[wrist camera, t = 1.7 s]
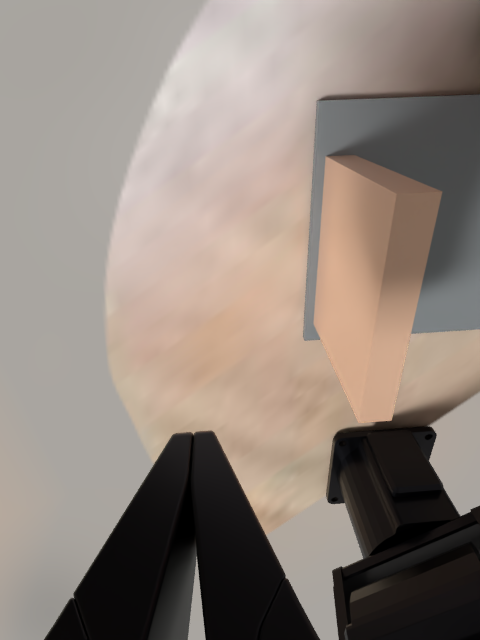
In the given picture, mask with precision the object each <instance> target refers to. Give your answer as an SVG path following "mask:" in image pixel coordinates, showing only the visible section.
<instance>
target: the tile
mask: <svg viewBox="0 0 480 640" xmlns="http://www.w3.org/2000/svg"><path fill="white" fill-rule="evenodd" d="M441 196H442V191H440V190H437V189H435V188H433V187H430V186H428V185H425V184H423V183H421V182H418V181H416V180H413V179H411V178H409V177H406V176H404V175H401V174H399V173H397V172H394V171H392V170H389V169H387V168H385V167H382V166H380V165H377V164H375V163H373V162H370V161H368V160H365V159H363V158H361V157H358V156H356V155H342V156H326V159H325V172H324V186H323V200H322V213H321V227H320V241H319V254H318V268H317V282H316V296H315V309H314V323H313V324H314V326H315V328H316V331H317V333H318V335H319V337H320V339H321V341H322V344H323V346H324V348H325V350H326V352H327V355H328V357H329V359H330V361H331V363H332V366H333V368H334V370H335V372H336V374H337V376H338V379H339V381H340V383H341V385H342V387H343V390H344V392H345V394H346V396H347V398H348V401H349V403H350V405H351V407H352V409H353V411H354V414H355V416H356V418H357V420H358V422H359V423H366V422H379V421H392V416H393V412H394V407H395V403H396V398H397V394H398V389H399V385H400V380H401V376H402V371H403V367H404V362H405V358H406V353H407V349H408V344H409V340H410V335H411V331H412V326H413V322H414V317H415V313H416V308H417V304H418V299H419V295H420V290H421V286H422V281H423V277H424V272H425V268H426V263H427V259H428V254H429V250H430V245H431V241H432V236H433V232H434V227H435V223H436V218H437V214H438V209H439V205H440V200H441Z"/></svg>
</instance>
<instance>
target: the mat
mask: <svg viewBox="0 0 480 640" xmlns="http://www.w3.org/2000/svg"><path fill="white" fill-rule="evenodd" d="M342 155H356V156H358V157H361V158H363V159H365V160H368V161H370V162H373V163H375V164H377V165H380V166H382V167H385V168H387V169H389V170H392V171H394V172H397V173H399V174H401V175H404V176H406V177H409V178H411V179H413V180H416V181H418V182H421V183H423V184H425V185H428V186H430V187H433V188H435V189H437V190H440V191H442V196H441V200H440V205H439V209H438V214H437V218H436V223H435V227H434V232H433V236H432V241H431V245H430V250H429V254H428V259H427V263H426V268H425V272H424V277H423V281H422V286H421V290H420V295H419V299H418V304H417V308H416V313H415V317H414V322H413V326H412V331H411V334H414V333H429V332H445V331H460V330H475V329H480V94H478V95H451V96H425V97H398V98H372V99H345V100H319V101H317V109H316V126H315V143H314V160H313V177H312V194H311V211H310V228H309V245H308V262H307V279H306V296H305V313H304V330H303V338H304V340H305V341H307V340H321V339H320V337H319V335H318V333H317V331H316V328H315V326H314V324H313V323H314V309H315V296H316V282H317V268H318V254H319V241H320V227H321V213H322V200H323V186H324V172H325V159H326V156H342Z"/></svg>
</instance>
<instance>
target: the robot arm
mask: <svg viewBox="0 0 480 640" xmlns="http://www.w3.org/2000/svg"><path fill="white" fill-rule="evenodd" d="M435 439H436V433H435V431H434V430H433V428H432V427H414V428H401V429H388V430H375V431H362V432H349V433H339V434H337V435H335V436H334V438H333V443H332V451H331V459H330V467H329V475H328V483H327V492H326V497H327V500H328V502H329V503H331V504H340V503H345V504H346V508H347V511H348V514H349V517H350V520H351V523H352V526H353V529H354V532H355V534H356V538H357V540H358V544H359V547H360V549H361V553H362V556H363V559H362V560H359V561H357V562H355V563H353V564H350V565H348V566H346V567H339V568H336V569H334V570H333V571H332V573H333V582H334V587H333V589H334V599H335V608H336V618H337V627H338V636H339V640H480V506H478V507H476V508H473V509H471V512H470V513H467V514H465V515H462V516H460V515H459V513H458V511H457V510H456V508H455V506H454V505H453V503H452V501H451V500H450V498H449V496H448V495H447V493H446V491H445V490H444V488H443V484H442V482H441V481H440V479H439V477H438V476H437V474H436V472H435V471H434V469H433V467H432V466H431V464H430V462H429V458H430V455H431V452H432V449H433V446H434V442H435ZM196 557H197V560H198V570H199V580H200V589H201V599H202V609H203V617H204V627H205V637H206V640H320V639H319V637H318V636H317V634H316V632H315V630H314V628H313V626H312V624H311V623H310V621H309V619H308V617H307V615H306V613H305V611H304V609H303V608H302V606H301V604H300V602H299V600H298V598H297V596H296V594H295V592H294V590H293V588H292V586H291V584H290V582H289V580H288V579H286V578H285V573H284V571H283V569H282V567H281V565H280V563H279V561H278V559H277V557H276V555H275V553H274V551H273V549H272V547H271V545H270V543H269V541H268V539H267V537H266V535H265V533H264V531H263V529H262V527H261V525H260V523H259V521H258V519H257V517H256V515H255V513H254V511H253V509H252V507H251V505H250V503H249V501H248V499H247V497H246V495H245V493H244V491H243V489H242V487H241V485H240V483H239V481H238V479H237V477H236V475H235V473H234V471H233V469H232V467H231V465H230V463H229V461H228V459H227V457H226V455H225V453H224V451H223V449H222V447H221V445H220V443H219V441H218V439H217V437H216V435H215V433H214V432H213V431H199V432H195V433H194V435H193V433H191V432H186V433H175V434H173V435H172V437H171V438H170V440H169V441H168V443H167V445H166V446H165V448H164V449H163V451H162V453H161V454H160V456H159V457H158V459H157V461H156V462H155V464H154V465H153V467H152V469H151V470H150V472H149V474H148V475H147V477H146V478H145V480H144V482H143V483H142V485H141V486H140V488H139V489H138V491H137V493H136V494H135V496H134V497H133V499H132V501H131V503H130V504H129V506H128V507H127V509H126V510H125V512H124V514H123V515H122V517H121V518H120V520H119V522H118V523H117V525H116V526H115V528H114V530H113V531H112V533H111V534H110V536H109V538H108V539H107V541H106V542H105V544H104V546H103V547H102V549H101V550H100V552H99V554H98V555H97V557H96V558H95V560H94V562H93V563H92V565H91V566H90V568H89V570H88V571H87V573H86V574H85V576H84V578H83V579H82V581H81V582H80V584H79V586H78V587H77V589H76V590H75V592H74V598H71V599H70V600H69V601H68V603H67V604H66V606H65V608H64V609H63V611H62V612H61V614H60V616H59V617H58V619H57V620H56V622H55V624H54V625H53V627H52V628H51V630H50V631H49V633H48V634H47V636H46V637H45V639H44V640H188V631H189V621H190V612H191V603H192V593H193V584H194V575H195V566H196Z"/></svg>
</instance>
